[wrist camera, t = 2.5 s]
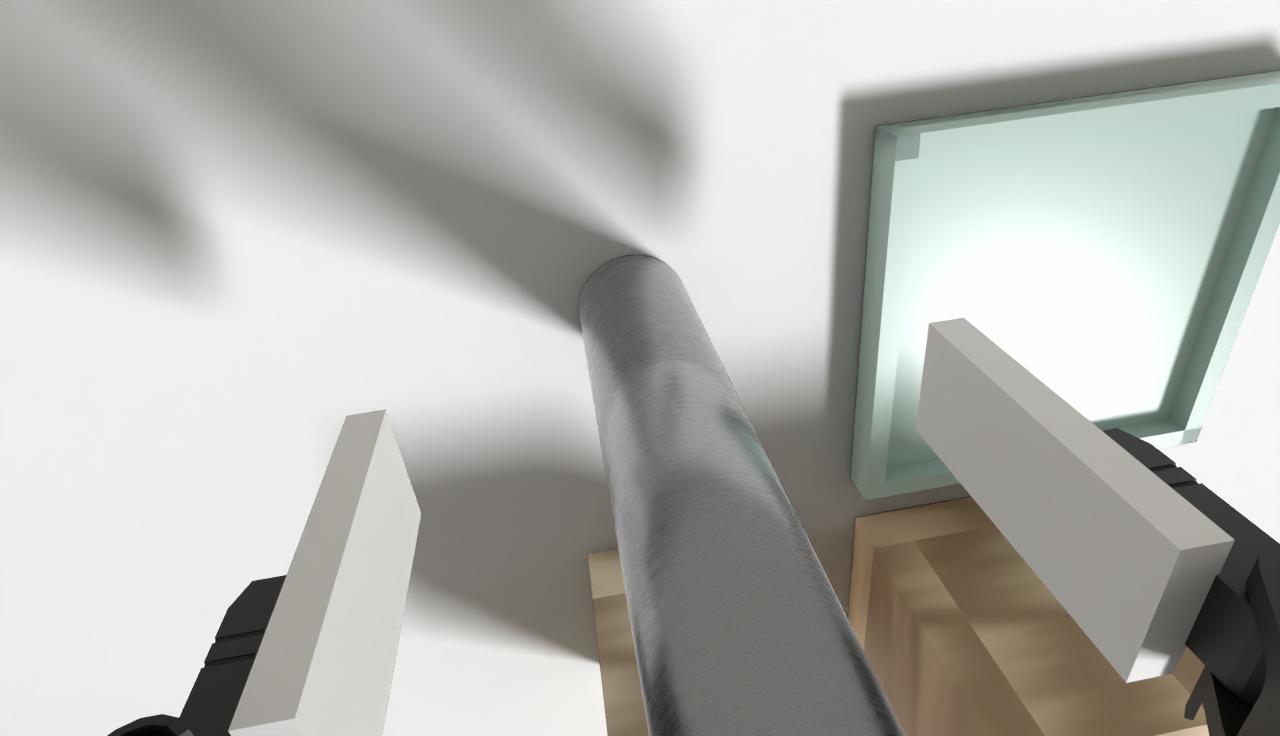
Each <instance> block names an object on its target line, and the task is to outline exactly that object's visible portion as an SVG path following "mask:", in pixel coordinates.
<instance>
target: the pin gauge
mask: <svg viewBox="0 0 1280 736" xmlns="http://www.w3.org/2000/svg"><path fill="white" fill-rule="evenodd" d="M579 315H580V321H581V327H582V333H583V339H584V345H585V351H586V357H587V363H588V369H589V375H590V381H591V387H592V393H593V400H594V406H595V412H596V418H597V424H598V430H599V436H600V442H601V448H602V454H603V460H604V466H605V472H606V478H607V484H608V490H609V496H610V502H611V508H612V514H613V521H614V527H615V533H616V539H617V545H618V551H619V557H620V563H621V569H622V575H623V581H624V587H625V593H626V599H627V605H628V611H629V617H630V623H631V629H632V635H633V641H634V648H635V654H636V660H637V666H638V672H639V678H640V684H641V690H642V696H643V702H644V708H645V714H646V720H647V726H648V732H649V736H906V735H905V733H904V731H903V729H902V727H901V725H900V723H899V721H898V719H897V717H896V715H895V713H894V711H893V709H892V707H891V705H890V703H889V701H888V699H887V697H886V695H885V693H884V691H883V689H882V687H881V685H880V683H879V681H878V679H877V677H876V675H875V673H874V670H873V668H872V666H871V664H870V662H869V660H868V658H867V656H866V654H865V652H864V650H863V648H862V646H861V644H860V642H859V640H858V638H857V636H856V634H855V632H854V630H853V628H852V626H851V624H850V622H849V620H848V618H847V616H846V614H845V612H844V610H843V608H842V606H841V604H840V602H839V600H838V598H837V596H836V594H835V591H834V589H833V587H832V585H831V583H830V581H829V579H828V577H827V575H826V573H825V571H824V569H823V567H822V565H821V563H820V561H819V559H818V557H817V555H816V553H815V551H814V549H813V547H812V545H811V543H810V541H809V539H808V537H807V535H806V533H805V531H804V529H803V527H802V525H801V523H800V521H799V519H798V517H797V514H796V512H795V510H794V508H793V506H792V504H791V502H790V500H789V498H788V496H787V494H786V492H785V490H784V488H783V486H782V484H781V482H780V480H779V478H778V476H777V474H776V472H775V470H774V468H773V466H772V464H771V462H770V460H769V458H768V456H767V454H766V452H765V450H764V448H763V446H762V444H761V442H760V440H759V438H758V435H757V433H756V431H755V429H754V427H753V425H752V423H751V421H750V419H749V417H748V415H747V413H746V411H745V409H744V407H743V405H742V403H741V401H740V399H739V397H738V395H737V393H736V391H735V389H734V387H733V385H732V383H731V381H730V379H729V377H728V375H727V373H726V371H725V369H724V367H723V365H722V363H721V361H720V358H719V356H718V354H717V352H716V350H715V348H714V346H713V344H712V342H711V340H710V338H709V336H708V334H707V332H706V330H705V328H704V326H703V324H702V322H701V320H700V318H699V316H698V314H697V312H696V310H695V308H694V306H693V304H692V302H691V300H690V298H689V296H688V294H687V292H686V290H685V288H684V286H683V284H682V282H681V280H680V278H679V277H678V275H677V274H676V273H675V271H674V270H673V269H672V268H670V267H669V266H668V265H667V264H665V263H664V262H662V261H660V260H658V259H655V258H652V257H649V256H643V255H629V256H623V257H619V258H616V259H613V260H611V261H609V262H607V263H605V264H604V265H602V266H601V267H600V268H598V269H597V270H596V271H595V272H594V273H593V274H592V275H591V276H590V278H589V279H588V280H587V282H586V284H585V285H584V287H583V290H582V292H581V295H580V300H579Z"/></svg>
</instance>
